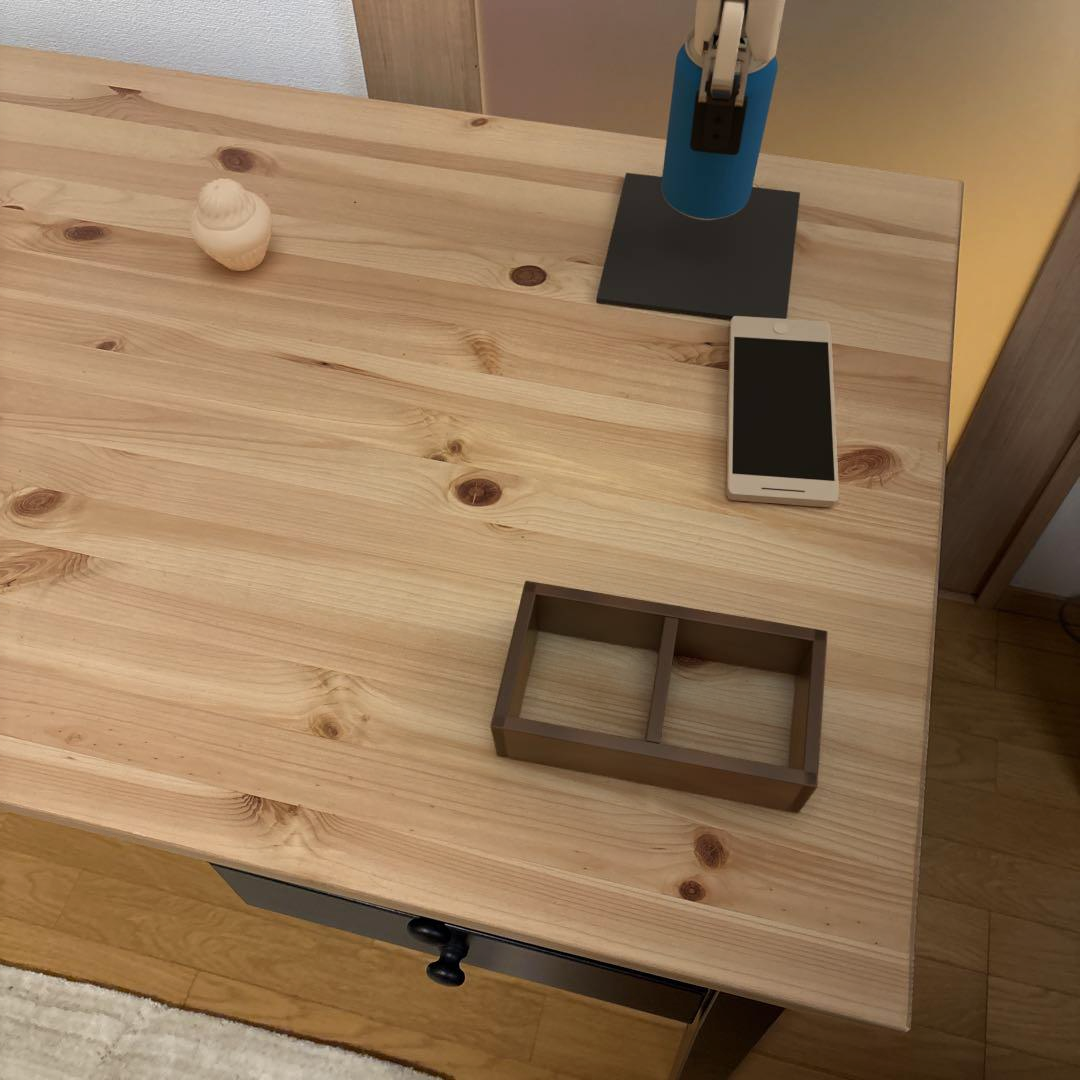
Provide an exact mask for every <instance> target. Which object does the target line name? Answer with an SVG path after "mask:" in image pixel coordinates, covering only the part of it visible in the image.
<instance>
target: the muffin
mask: <svg viewBox="0 0 1080 1080" xmlns="http://www.w3.org/2000/svg"><path fill="white" fill-rule="evenodd" d="M197 199H198V201H197V204H196V206H195V208H194V210H193V211H192V212H191V215H190V220H189V232H190V235H191V237H192V240H194V242H195V243H196V244H197V246H198V247H200V248H201V249H202V250H203V252H204V253H206V254H207V255H208V256H209V257H211V258H212V259H213V260H215V261H217V262H218V263H219V264H222V266H224V267H226V268H227V269H229V270H231V271H235V272H238V271H239V272H246V271H250V270H253V269H254V268H257V266H260V264H262V262H263V261H264V259H265V257H266V253H267V249H268V247H269V244H270V240H271V236H272V232H273V229H272V226H273V214H272V211H271V209H270V207H269V205H268V204H267V203H266V202H265V200H264V199H262V198H261V197H260V196H259V195H257V194H256V193H254V192H252V191H249V190H247V189H246V190H245V188H244V187H243V185H242V184H241V183H240V182H238V181H235V180H233V179H231V178H223V177H219V178H218V179H212V181H211V182H206V183H205V186H202V187H201V188H200V191H199V193H198V194H197Z"/></svg>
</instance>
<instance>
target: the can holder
mask: <svg viewBox="0 0 1080 1080" xmlns="http://www.w3.org/2000/svg"><path fill="white" fill-rule="evenodd" d="M539 632H544V633H549V634H555V635H561V636H567V637H572V638H577V639H585V640H590V641H595V642H602V643H607V644H613V645H619V646H625V647H630V648H634V649H636V648H637V649H643V650H648V651H653V652H657V657H656V664H655V669H654V676H653V683H652V690H651V697H650V702H649V709H648V715H647V722H646V727H645V733H644V740H643V739H637V738H631V737H625V736H620V735H616V734H609V733H605V732H604V733H603V732H599V731H595V730H589V729H582V728H578V727H577V728H576V727H572V726H568V725H561V724H556V723H550V722H545V721H540V720H534V719H528V718H524V717H520V715H521V711H522V706H523V703H524V702H523V701H524V697H525V692H526V688H527V683H528V680H529V675H530V672H531V671H530V670H531V666H532V662H533V657H534V653H535V649H536V644H537V640H538V634H539ZM828 634H829V632H828V631H827V630H825V629H820V628H819V629H818V628H813V627H806V626H801V625H796V624H790V623H789V624H788V623H782V622H777V621H770V620H765V619H759V618H753V617H746V616H741V615H734V614H729V613H722V612H718V611H713V610H712V611H711V610H705V609H699V608H693V607H686V606H681V605H674V604H669V603H668V604H667V603H665V602H664V603H663V602H657V601H651V600H646V599H639V598H634V597H633V598H632V597H627V596H621V595H615V594H609V593H604V592H598V591H592V590H586V589H580V588H573V587H566V586H561V585H556V584H549V583H543V582H538V581H532V580H525V581H524V585H523V588H522V592H521V597H520V601H519V605H518V609H517V613H516V617H515V621H514V626H513V630H512V634H511V638H510V642H509V647H508V650H507V655H506V659H505V663H504V666H503V667H504V668H503V671H502V676H501V680H500V684H499V689H498V691H497V697H496V701H495V705H494V710H493V713H492V717H491V721H490V731H491V735H492V740H493V744H494V750H495V755H496V757H499V758H504V759H510V760H515V761H521V762H527V763H531V764H536V765H541V766H547V767H553V768H558V769H562V770H569V771H574V772H579V773H584V774H589V775H593V776H599V777H605V778H610V779H615V780H620V781H626V782H631V783H637V784H641V785H645V786H650V787H651V786H652V787H657V788H662V789H669V790H673V791H678V792H684V793H689V794H695V795H699V796H704V797H709V798H714V799H721V800H726V801H730V802H731V801H732V802H735V803H741V804H746V805H751V806H752V805H753V806H756V807H762V808H768V809H772V810H779V811H783V812H788V813H794V814H800V812H801V811H802V810H803V808H804V806H805V805H806V804H807V802H808V801H809V800H810V798H811V797H812V795H814V793H815V792H816V790H817V788H818V787H819V786H818V784H819V767H820V753H821V752H820V751H821V738H822V723H823V709H824V693H825V680H826V679H825V677H826V665H827V663H826V661H827V649H828V648H827V647H828ZM674 655H675V656H676V655H677V656H682V657H689V658H694V659H698V660H699V659H701V660H705V661H712V662H717V663H723V664H727V665H734V666H740V667H744V668H752V669H757V670H763V671H769V672H775V673H780V674H786V675H791V676H794V677H795V678H794V691H793V702H792V712H791V713H792V714H791V715H792V716H791V725H790V726H791V727H790V737H789V739H790V740H789V751H788V762H787V763H788V764H787V766H784V765H783V766H782V765H778V764H772V763H767V762H761V761H757V760H756V761H755V760H750V759H745V758H739V757H735V756H729V755H724V754H718V753H712V752H708V751H702V750H696V749H690V748H685V747H680V746H676V745H675V746H674V745H669V744H664V743H661V740H662V734H663V727H664V722H665V721H664V720H665V714H666V706H667V700H668V694H669V687H670V682H671V681H670V679H671V674H672V673H671V672H672V667H673V660H674Z"/></svg>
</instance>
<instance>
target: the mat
mask: <svg viewBox="0 0 1080 1080" xmlns="http://www.w3.org/2000/svg"><path fill="white" fill-rule="evenodd" d="M661 183H662V176H660V175H659V176H658V175H650V174H640V173H633V172H626V173H625V175H624V180H623V184H622V187H621V192H620V197H619V201H618V205H617V210H616V214H615V218H614V222H613V225H612V226H613V227H612V231H611V234H610V239H609V243H608V247H607V250H606V251H607V252H606V256H605V260H604V264H603V268H602V272H601V277H600V281H599V286H598V290H597V294H596V298H595V299H596V301H595V302H596V304H603V305H612V306H619V307H628V308H634V309H635V308H636V309H641V310H649V311H650V310H651V311H658V312H663V313H664V312H665V313H671V314H672V313H673V314H681V315H687V316H694V317H695V316H697V317H704V318H712V319H720V320H727V321H731V319H732V318H733V317H734V316H744V317H761V318H778V319H788V308H789V298H790V291H791V290H790V289H791V279H792V271H793V261H794V255H795V253H794V251H795V243H796V234H797V226H798V225H797V224H798V216H799V207H800V197H801V192H800V191H793V190H783V189H774V188H767V187H757V186H752V190H751V194H750V198H749V200H748V202H747V203H746V205H745V206H744V207H743V208H742V209H741V210H740V211H738V212H737V213H735V214H733V215H730V216H728V217H724V218H720V219H715V220H698V219H694V218H691V217H688V216H686V215H684V214H682V213H680V212H678V211H677V210H675V209H674V208H673V207H672V206H670V205H669V203H668V202H667V201H666V200H665V198H664V196H663V194H662V189H661Z"/></svg>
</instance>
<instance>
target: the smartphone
mask: <svg viewBox="0 0 1080 1080" xmlns="http://www.w3.org/2000/svg"><path fill="white" fill-rule="evenodd" d="M728 333H729V334H728V383H727V384H728V385H727V386H728V388H727V390H728V391H727V393H728V394H727V438H726V439H727V440H726V441H727V442H726V443H727V444H726V445H727V448H726V450H727V451H726V497H727V498H728V499H729V500H730V501H736V502H737V501H738V502H752V503H753V502H754V503H763V504H764V503H766V504H780V505H793V506H808V507H819V508H834V507H835V506H836V505H837V502H838V499H839V497H840V483H839V465H838V464H839V461H838V445H837V444H838V441H837V424H836V422H837V420H836V401H835V384H834V383H835V382H834V364H833V341H832V327H831V324H830V323H829V321H826V320H811V319H810V320H809V319H796V318H795V319H793V318H791V319H790V318H786V319H778V318H761V317H744V316H734V317H733V318H732V319H731V320H730V325H729V332H728Z"/></svg>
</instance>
